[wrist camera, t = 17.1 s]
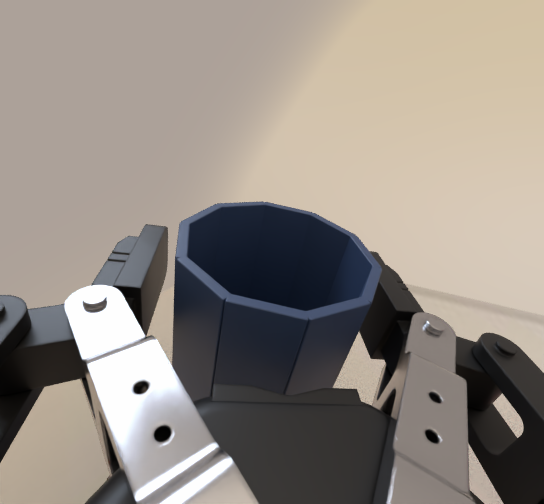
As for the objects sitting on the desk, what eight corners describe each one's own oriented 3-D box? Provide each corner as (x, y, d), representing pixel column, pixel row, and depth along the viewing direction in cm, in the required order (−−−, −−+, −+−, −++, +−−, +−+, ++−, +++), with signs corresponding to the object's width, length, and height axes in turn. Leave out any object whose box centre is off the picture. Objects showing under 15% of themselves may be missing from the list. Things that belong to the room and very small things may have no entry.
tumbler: (139, 474, 14) (122, 250, 8) (218, 372, 19) (245, 188, 13) (256, 560, 12) (353, 363, 6) (308, 424, 17) (391, 240, 11)
